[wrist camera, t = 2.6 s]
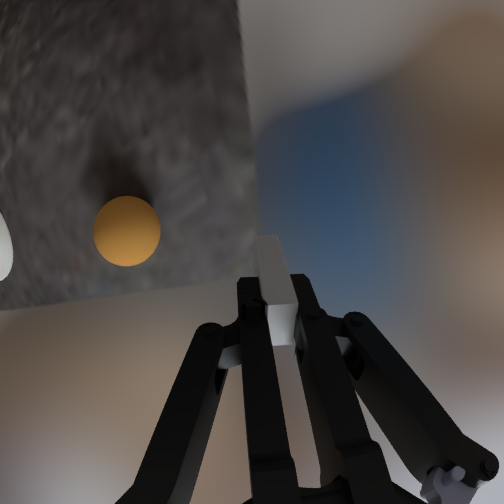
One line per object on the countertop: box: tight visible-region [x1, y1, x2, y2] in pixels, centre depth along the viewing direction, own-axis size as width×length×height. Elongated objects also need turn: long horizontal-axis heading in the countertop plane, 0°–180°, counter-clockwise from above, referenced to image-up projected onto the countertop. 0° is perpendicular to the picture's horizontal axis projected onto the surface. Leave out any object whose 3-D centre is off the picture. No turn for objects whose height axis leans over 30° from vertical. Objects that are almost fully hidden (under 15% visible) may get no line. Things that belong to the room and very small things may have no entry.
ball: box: [93, 196, 160, 266], centre depth 22 cm, size 6×6×6 cm
